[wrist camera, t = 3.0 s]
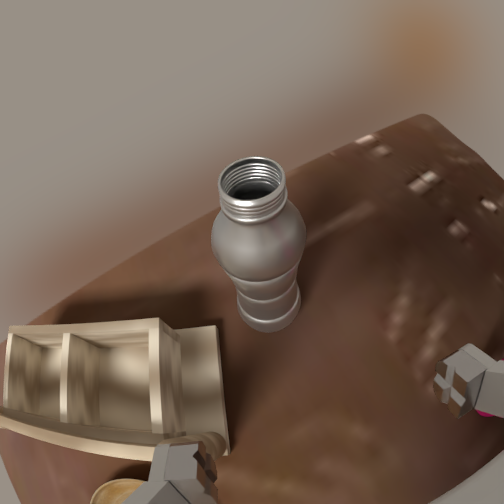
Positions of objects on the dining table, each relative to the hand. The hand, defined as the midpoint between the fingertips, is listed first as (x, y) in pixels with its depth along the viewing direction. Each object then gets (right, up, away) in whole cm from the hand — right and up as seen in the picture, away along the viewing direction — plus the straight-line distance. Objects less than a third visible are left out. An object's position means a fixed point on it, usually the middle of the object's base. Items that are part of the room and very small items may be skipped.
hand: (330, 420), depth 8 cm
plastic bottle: (0, -1, +25) cm, 25 cm away
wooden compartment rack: (-20, -11, +21) cm, 31 cm away
